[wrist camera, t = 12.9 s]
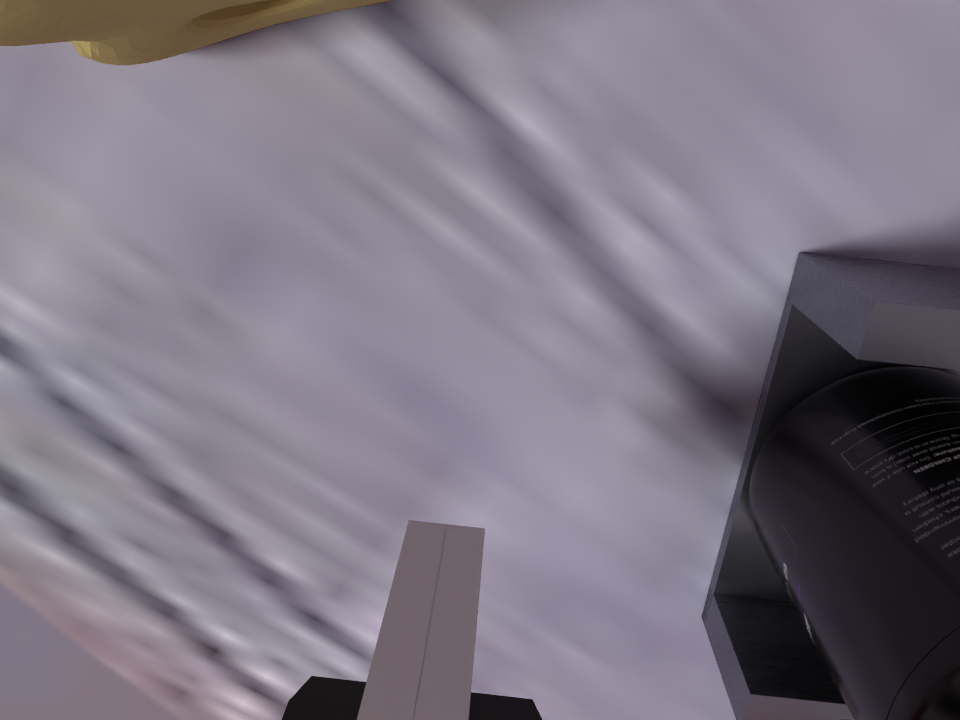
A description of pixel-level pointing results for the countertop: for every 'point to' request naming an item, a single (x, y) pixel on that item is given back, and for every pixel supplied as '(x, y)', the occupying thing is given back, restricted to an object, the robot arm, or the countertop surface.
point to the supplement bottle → (872, 535)
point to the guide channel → (790, 378)
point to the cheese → (148, 24)
